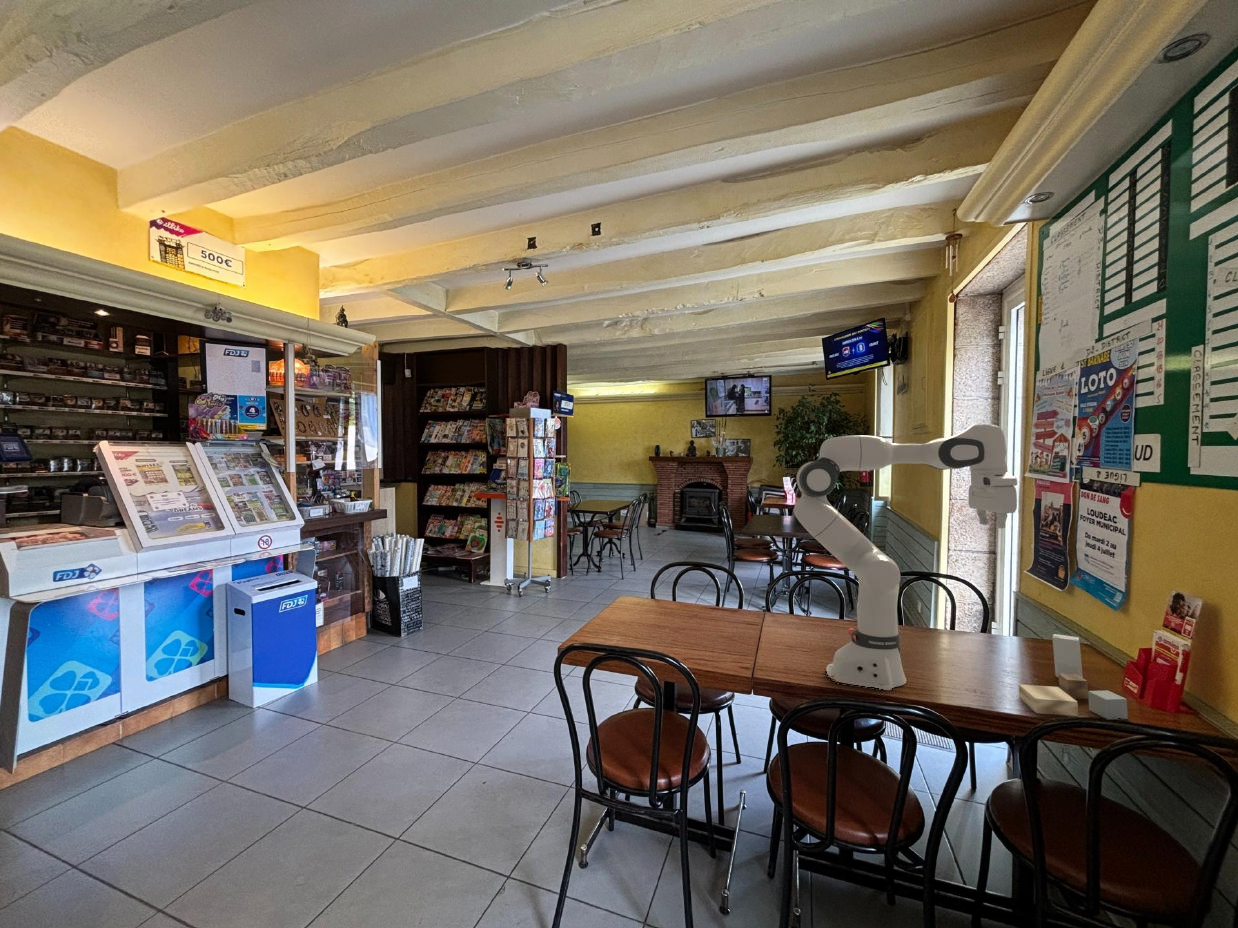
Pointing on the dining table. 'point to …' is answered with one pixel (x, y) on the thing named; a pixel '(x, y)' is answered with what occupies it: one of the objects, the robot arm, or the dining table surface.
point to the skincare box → (1067, 655)
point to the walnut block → (1073, 685)
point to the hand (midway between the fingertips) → (992, 526)
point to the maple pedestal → (1048, 700)
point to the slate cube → (1108, 704)
